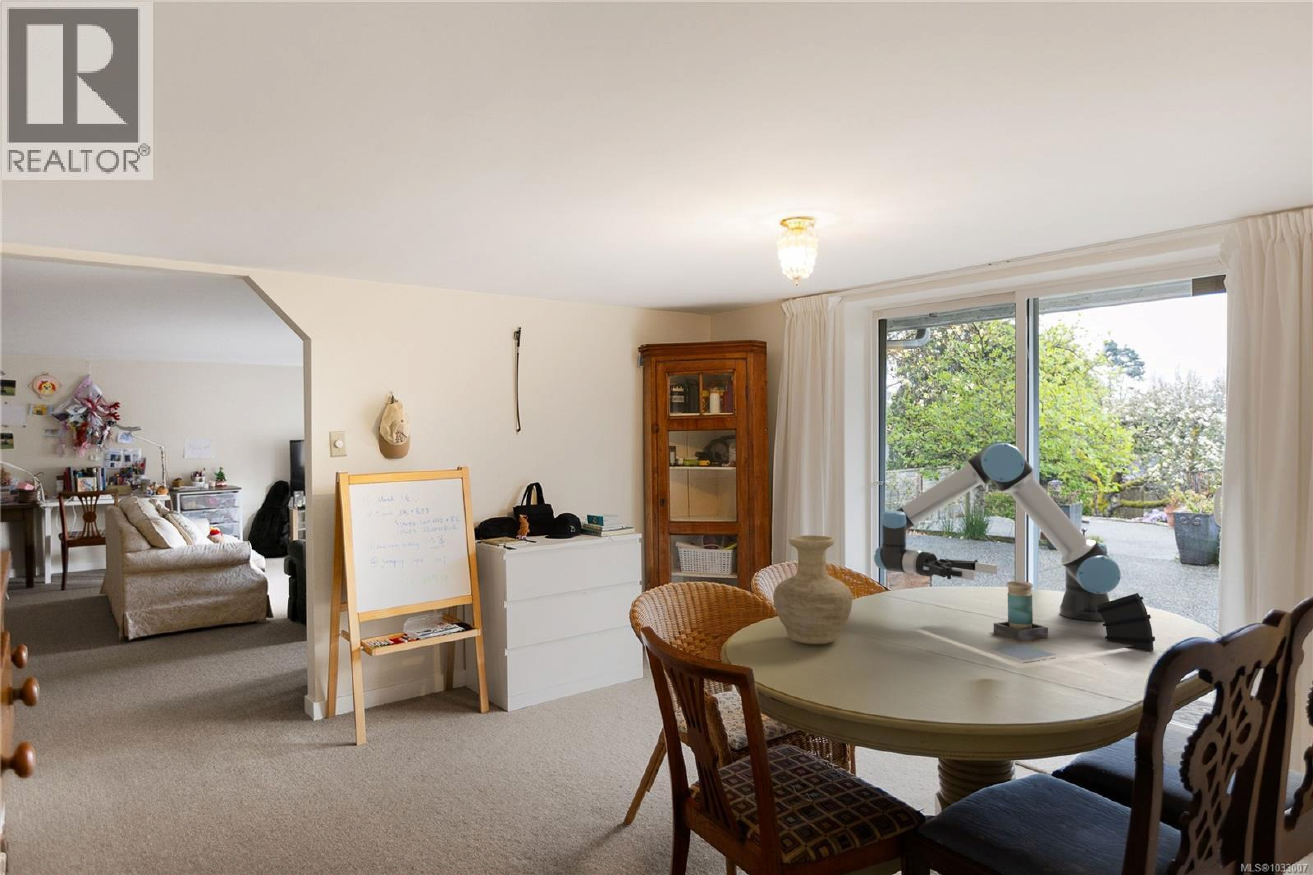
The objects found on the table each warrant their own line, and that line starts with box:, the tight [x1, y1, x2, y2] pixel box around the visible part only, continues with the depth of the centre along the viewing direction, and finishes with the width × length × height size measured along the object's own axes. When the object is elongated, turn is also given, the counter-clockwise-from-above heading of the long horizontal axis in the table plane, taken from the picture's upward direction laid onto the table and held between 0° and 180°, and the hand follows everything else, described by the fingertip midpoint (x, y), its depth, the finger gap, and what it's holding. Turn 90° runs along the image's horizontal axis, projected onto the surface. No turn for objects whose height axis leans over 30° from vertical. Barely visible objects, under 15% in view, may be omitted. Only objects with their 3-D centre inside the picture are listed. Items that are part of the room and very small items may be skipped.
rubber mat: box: [992, 643, 1057, 664], centre depth 209 cm, size 11×11×1 cm
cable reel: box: [1006, 580, 1034, 630], centre depth 224 cm, size 7×7×15 cm
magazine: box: [1097, 592, 1156, 653], centre depth 215 cm, size 4×13×15 cm, turn 39°
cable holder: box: [988, 620, 1054, 644], centre depth 224 cm, size 12×12×4 cm
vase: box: [772, 534, 853, 645], centre depth 226 cm, size 22×22×30 cm
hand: (985, 572), depth 232 cm, fingers open, 13 cm apart
